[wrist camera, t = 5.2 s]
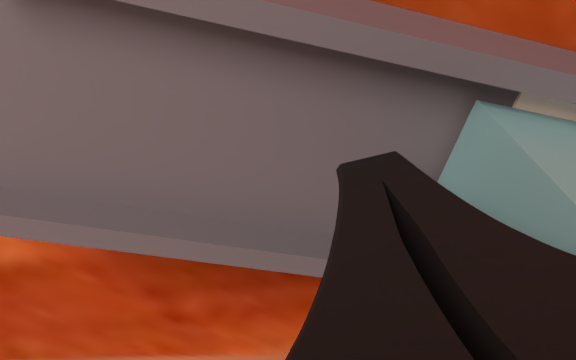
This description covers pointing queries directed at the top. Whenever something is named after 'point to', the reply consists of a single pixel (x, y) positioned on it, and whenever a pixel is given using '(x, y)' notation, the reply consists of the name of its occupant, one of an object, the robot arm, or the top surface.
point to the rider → (518, 171)
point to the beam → (235, 117)
